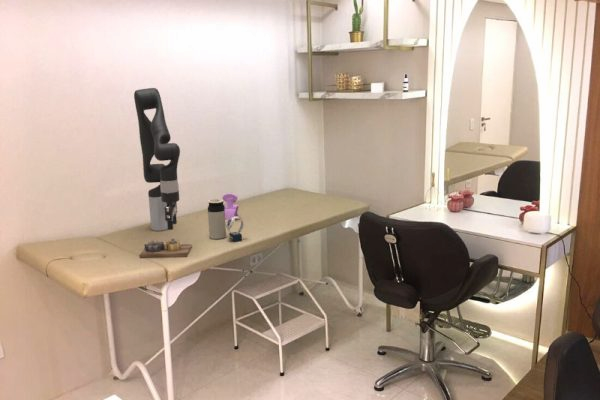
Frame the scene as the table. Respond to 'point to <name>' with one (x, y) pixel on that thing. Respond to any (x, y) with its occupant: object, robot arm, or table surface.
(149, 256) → the gear board
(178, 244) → the brass gear
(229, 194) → the toy chair
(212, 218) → the travel mug
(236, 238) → the watch
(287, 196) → the table surface
